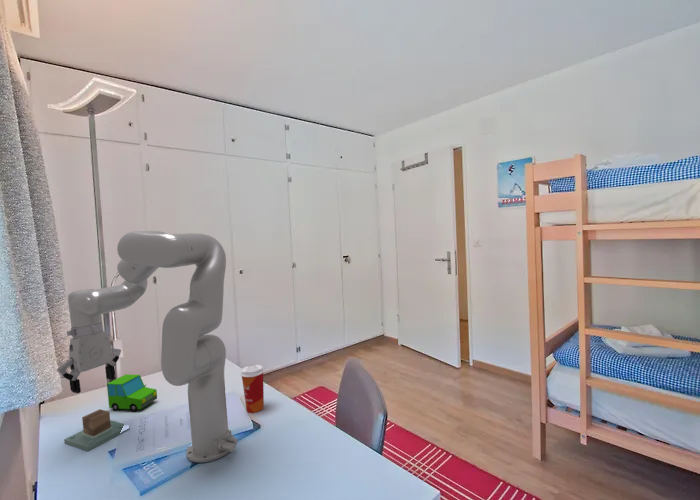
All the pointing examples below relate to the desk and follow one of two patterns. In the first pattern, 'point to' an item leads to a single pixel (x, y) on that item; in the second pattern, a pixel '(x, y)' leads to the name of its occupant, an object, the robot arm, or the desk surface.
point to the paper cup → (253, 388)
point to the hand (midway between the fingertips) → (94, 385)
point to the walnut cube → (96, 422)
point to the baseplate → (94, 437)
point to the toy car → (129, 393)
